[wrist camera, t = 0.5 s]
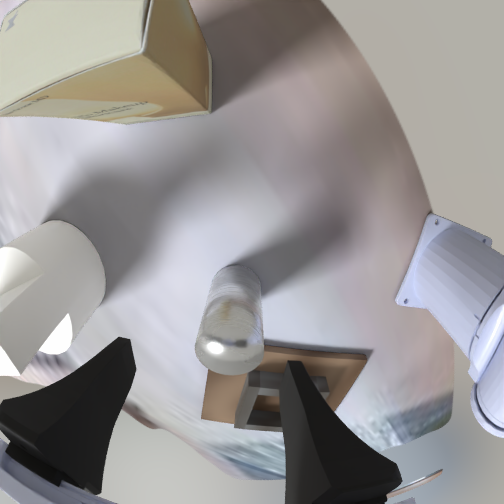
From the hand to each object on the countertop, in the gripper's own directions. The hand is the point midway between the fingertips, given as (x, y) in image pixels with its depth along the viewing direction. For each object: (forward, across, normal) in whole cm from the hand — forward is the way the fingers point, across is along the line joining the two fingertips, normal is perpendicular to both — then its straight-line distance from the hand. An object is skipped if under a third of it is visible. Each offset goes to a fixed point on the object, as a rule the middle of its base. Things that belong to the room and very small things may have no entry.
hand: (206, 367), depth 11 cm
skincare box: (+9, +5, -13) cm, 17 cm away
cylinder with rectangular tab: (+9, +14, +1) cm, 17 cm away
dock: (+9, -6, +12) cm, 16 cm away
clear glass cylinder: (+9, -1, +1) cm, 9 cm away
